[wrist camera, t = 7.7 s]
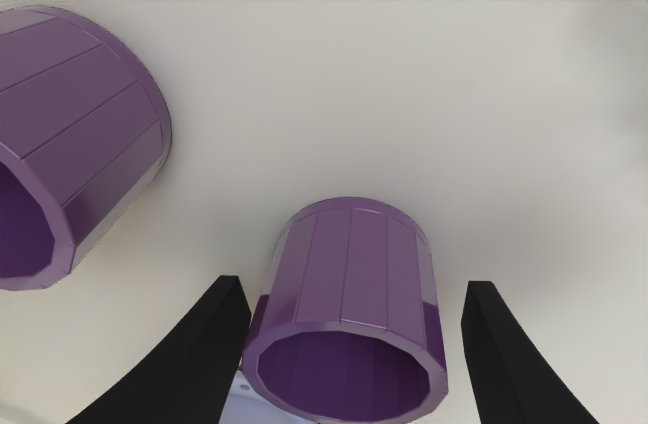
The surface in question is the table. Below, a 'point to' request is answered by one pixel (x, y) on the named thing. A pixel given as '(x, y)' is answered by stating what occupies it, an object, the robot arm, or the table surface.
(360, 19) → the table surface
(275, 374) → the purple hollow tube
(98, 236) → the small purple cup
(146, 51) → the table surface
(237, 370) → the robot arm
